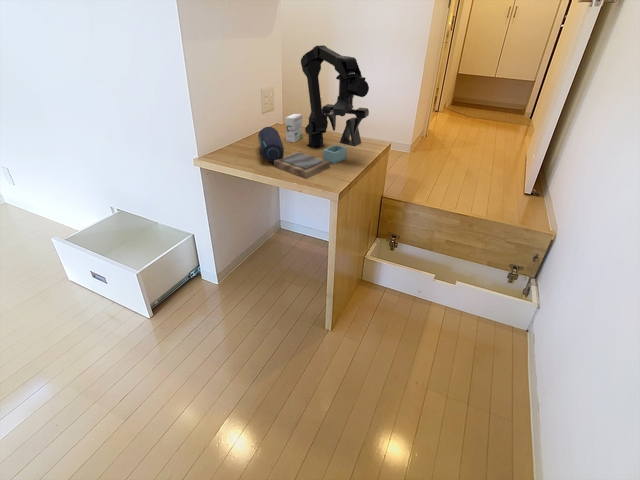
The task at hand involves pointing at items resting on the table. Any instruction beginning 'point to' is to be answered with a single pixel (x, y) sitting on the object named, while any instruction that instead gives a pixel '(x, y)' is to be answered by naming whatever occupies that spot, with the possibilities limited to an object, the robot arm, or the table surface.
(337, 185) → the table surface
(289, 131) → the ink box
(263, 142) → the portable speaker
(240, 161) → the table surface
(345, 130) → the phone stand
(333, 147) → the box
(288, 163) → the walnut stand
